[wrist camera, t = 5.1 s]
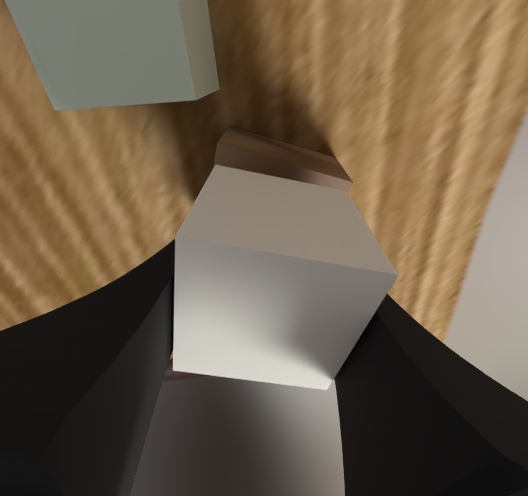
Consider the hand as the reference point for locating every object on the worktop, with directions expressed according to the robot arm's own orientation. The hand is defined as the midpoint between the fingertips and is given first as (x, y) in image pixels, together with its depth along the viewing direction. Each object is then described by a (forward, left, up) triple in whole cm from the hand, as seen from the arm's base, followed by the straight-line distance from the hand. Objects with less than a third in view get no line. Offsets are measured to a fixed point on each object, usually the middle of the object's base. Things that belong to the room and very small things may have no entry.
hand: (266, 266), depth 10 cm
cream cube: (0, 0, -2) cm, 2 cm away
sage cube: (-6, +6, -7) cm, 12 cm away
